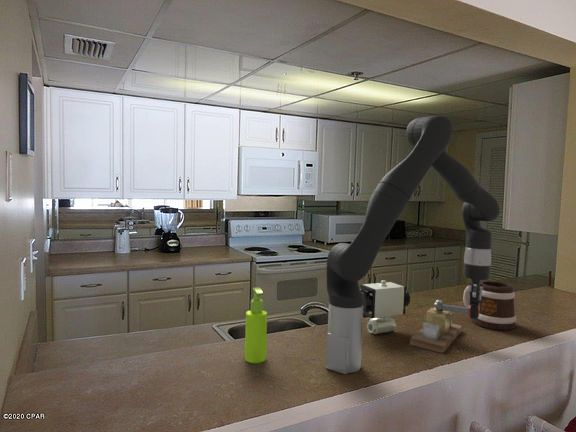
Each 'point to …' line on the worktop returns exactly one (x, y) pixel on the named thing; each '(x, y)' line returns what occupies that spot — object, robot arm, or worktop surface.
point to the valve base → (442, 340)
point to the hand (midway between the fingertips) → (474, 318)
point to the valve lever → (451, 308)
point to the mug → (494, 306)
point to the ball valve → (383, 304)
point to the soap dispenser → (256, 330)
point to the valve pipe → (436, 324)
